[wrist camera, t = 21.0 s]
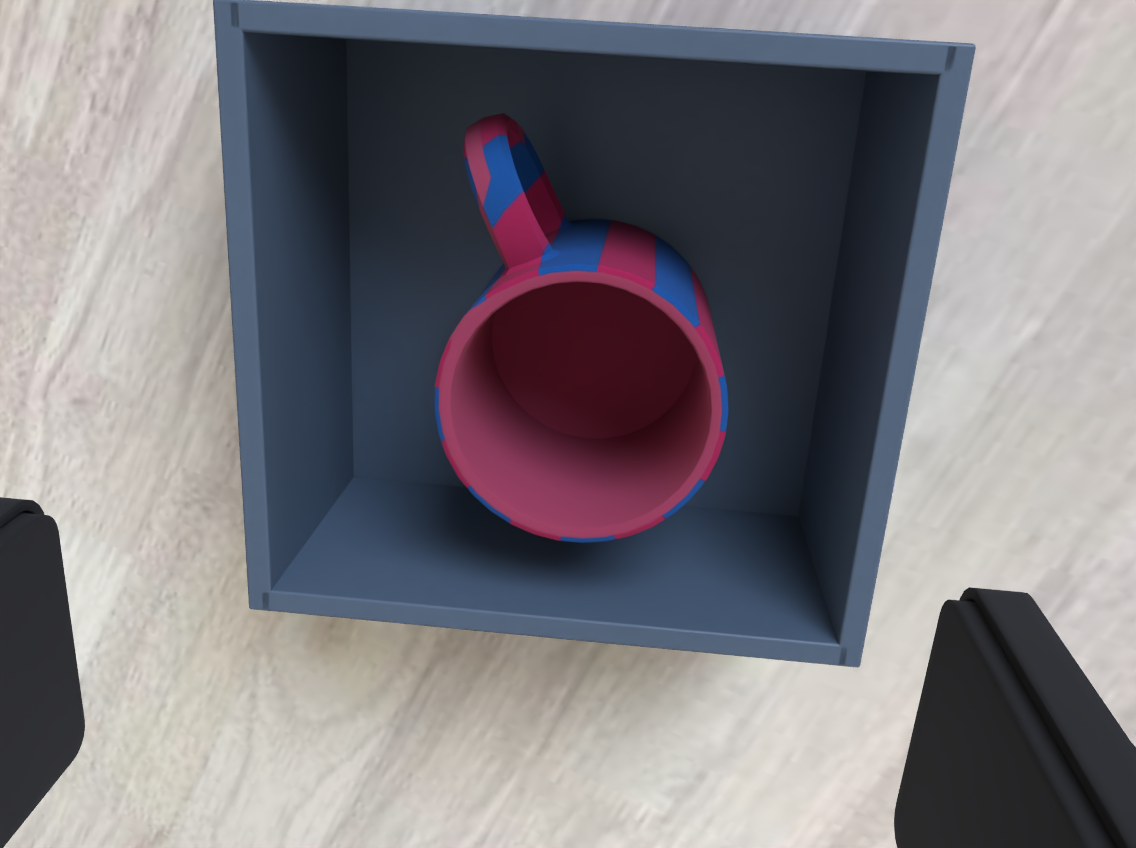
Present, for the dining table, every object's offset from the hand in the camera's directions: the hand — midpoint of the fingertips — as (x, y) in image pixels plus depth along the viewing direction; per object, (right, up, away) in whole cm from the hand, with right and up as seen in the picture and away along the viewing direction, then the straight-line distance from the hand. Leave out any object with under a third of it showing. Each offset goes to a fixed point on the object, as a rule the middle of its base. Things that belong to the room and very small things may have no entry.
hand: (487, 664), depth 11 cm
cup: (+1, +7, +18) cm, 19 cm away
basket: (-6, +6, +16) cm, 18 cm away
